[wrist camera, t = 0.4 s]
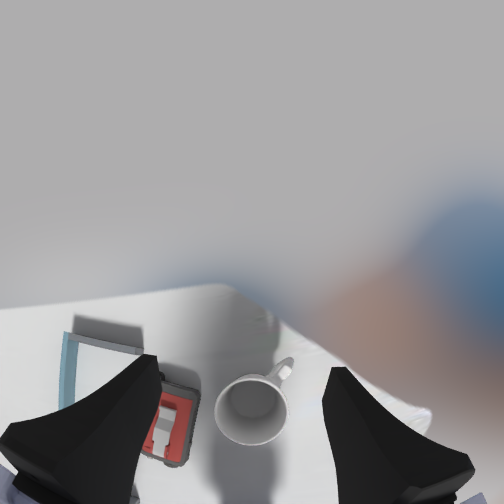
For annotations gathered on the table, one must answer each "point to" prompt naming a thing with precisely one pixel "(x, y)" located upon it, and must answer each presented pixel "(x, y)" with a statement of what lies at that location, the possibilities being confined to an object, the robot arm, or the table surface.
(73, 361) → the tray
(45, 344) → the table surface
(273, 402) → the mug
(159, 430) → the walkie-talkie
